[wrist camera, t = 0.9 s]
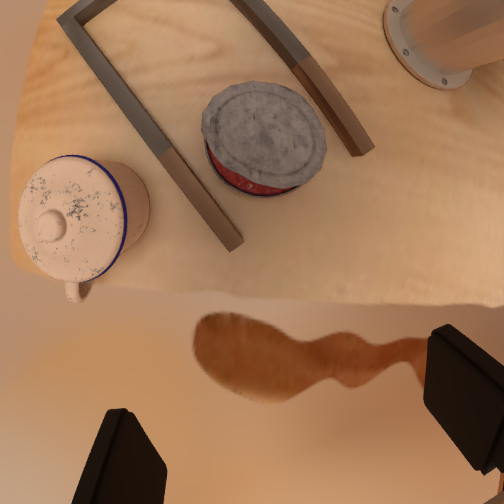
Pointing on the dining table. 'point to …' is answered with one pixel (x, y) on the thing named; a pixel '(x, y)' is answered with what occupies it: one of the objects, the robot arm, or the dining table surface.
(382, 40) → the dining table surface
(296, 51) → the can dock
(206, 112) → the canned food
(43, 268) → the teacup with lid
